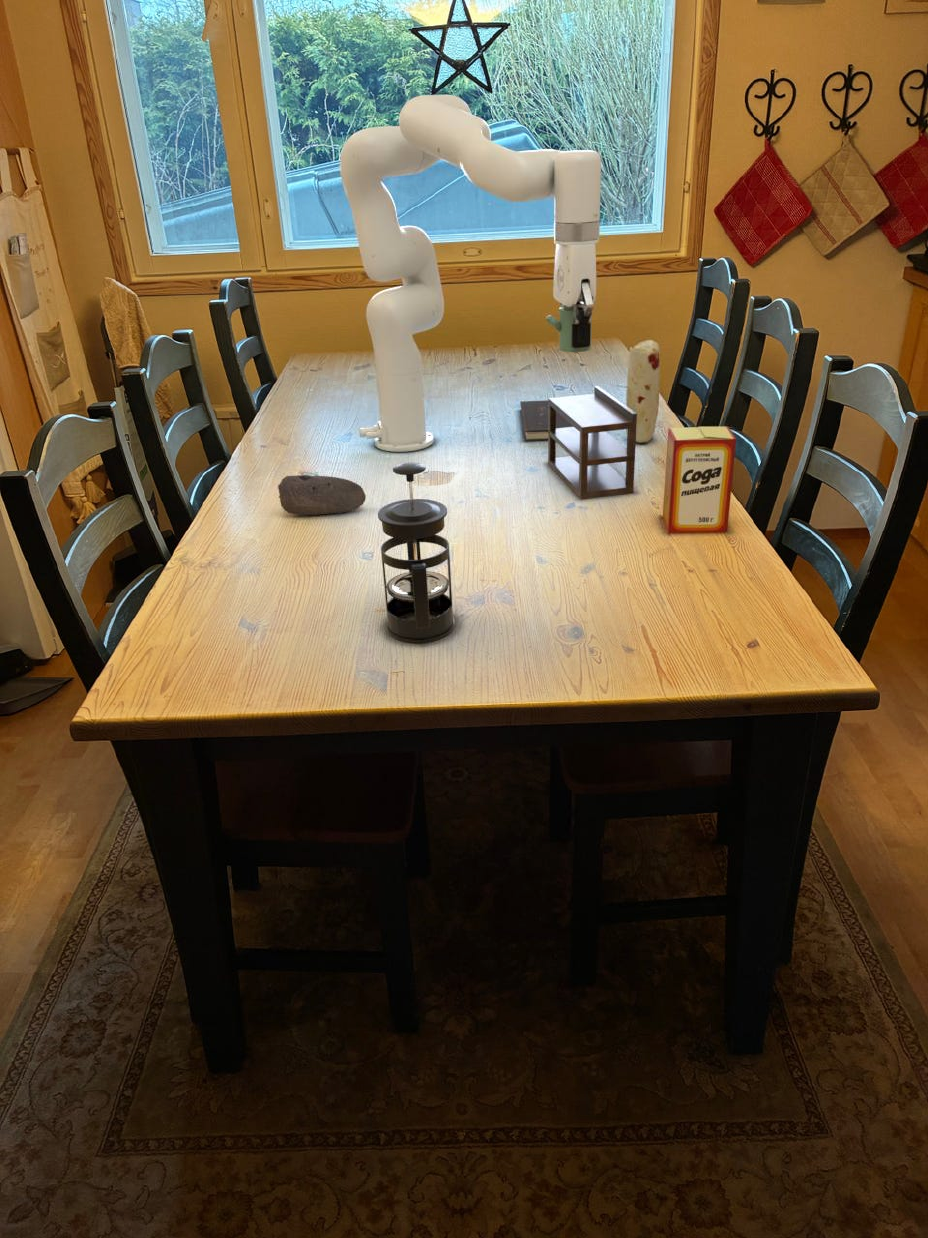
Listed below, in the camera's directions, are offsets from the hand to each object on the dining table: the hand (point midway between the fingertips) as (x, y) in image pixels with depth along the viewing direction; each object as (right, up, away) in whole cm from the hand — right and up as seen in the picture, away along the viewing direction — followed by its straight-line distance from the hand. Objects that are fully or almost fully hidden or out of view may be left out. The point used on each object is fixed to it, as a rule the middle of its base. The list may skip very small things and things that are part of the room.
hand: (575, 342), depth 165 cm
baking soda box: (+19, -33, -9) cm, 39 cm away
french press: (-25, -50, -37) cm, 67 cm away
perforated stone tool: (-44, -30, +2) cm, 53 cm away
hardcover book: (+1, -6, +44) cm, 44 cm away
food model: (+18, -11, +32) cm, 38 cm away
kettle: (-1, -1, 0) cm, 2 cm away
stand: (+4, -22, +12) cm, 26 cm away
